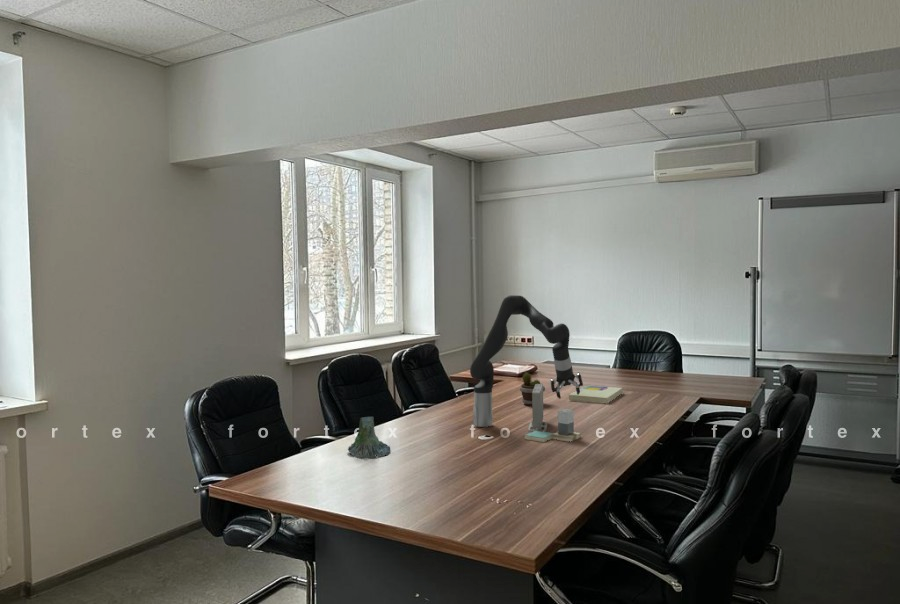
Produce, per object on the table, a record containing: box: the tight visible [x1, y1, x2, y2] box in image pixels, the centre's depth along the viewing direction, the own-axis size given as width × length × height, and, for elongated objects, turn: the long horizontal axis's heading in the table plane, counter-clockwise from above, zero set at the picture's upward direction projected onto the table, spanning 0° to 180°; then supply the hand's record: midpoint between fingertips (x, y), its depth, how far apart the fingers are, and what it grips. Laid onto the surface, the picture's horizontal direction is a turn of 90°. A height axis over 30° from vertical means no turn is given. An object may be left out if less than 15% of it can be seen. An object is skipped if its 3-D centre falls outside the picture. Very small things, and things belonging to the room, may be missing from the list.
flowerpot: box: [519, 371, 546, 407], centre depth 376 cm, size 14×15×20 cm
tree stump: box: [347, 416, 391, 459], centre depth 281 cm, size 18×20×18 cm
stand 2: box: [550, 431, 582, 443], centre depth 298 cm, size 10×10×2 cm
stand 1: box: [524, 431, 555, 443], centre depth 298 cm, size 10×10×2 cm
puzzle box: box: [568, 385, 624, 405], centre depth 395 cm, size 36×5×24 cm
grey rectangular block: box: [557, 408, 575, 436], centre depth 298 cm, size 6×5×11 cm
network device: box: [527, 383, 548, 432], centre depth 320 cm, size 26×9×20 cm, turn 168°
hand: (568, 395), depth 293 cm, fingers open, 8 cm apart
